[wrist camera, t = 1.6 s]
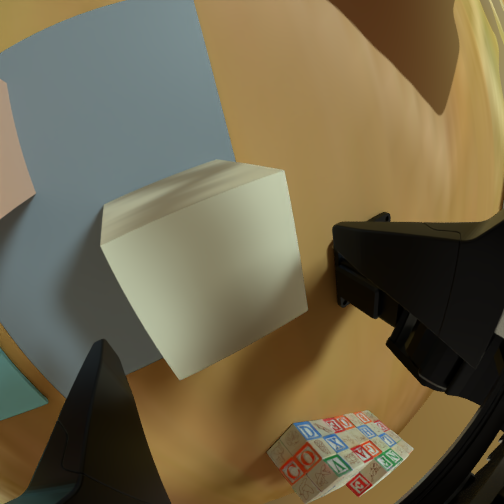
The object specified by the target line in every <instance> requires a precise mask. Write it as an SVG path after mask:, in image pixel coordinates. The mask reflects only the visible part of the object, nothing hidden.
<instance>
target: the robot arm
mask: <svg viewBox="0 0 504 504" xmlns="http://www.w3.org/2000/svg"><path fill="white" fill-rule="evenodd" d="M332 232H333V242H334V256H335V268H336V283H337V300H338V305H339V306H341V307H342V308H344V307H346V306H347V305H349V304H350V303H351V304H352V305H354V306H355V307H357V308H358V309H360V310H361V311H363V312H364V313H366V314H367V315H369V316H370V317H372V318H374V319H377V318H378V317H379V318H381V319H382V320H384V321H385V322H387V323H388V324H390V325H391V326H393V327H394V330H393V332H392V334H391V336H390V337H389V338H388V340H387V342H386V346H387V347H388V348H389V349H390V350H391V351H392V353H393V354H394V355H395V356H396V357H397V358H398V359H399V360H400V361H401V362H402V364H403V365H404V366H405V367H406V368H407V369H408V370H409V371H410V372H411V373H412V375H413V376H414V377H415V378H416V379H417V380H418V381H419V382H420V383H421V384H422V385H423V386H427V387H429V388H431V389H433V390H436V391H440V392H445V393H446V394H447V395H452V396H459V397H462V398H465V399H468V400H470V401H473V402H475V403H476V404H478V405H480V408H479V409H478V411H477V412H476V414H475V415H474V417H473V418H472V419H471V421H470V422H469V423H468V425H467V426H466V427H465V429H464V430H463V432H462V433H461V434H460V436H459V437H458V438H457V439H456V440H455V442H454V443H453V444H452V445H451V447H450V448H449V449H448V450H447V451H446V453H445V454H444V455H443V456H442V457H441V458H440V459H439V461H438V462H437V463H436V464H435V465H434V466H433V467H432V468H431V469H430V470H429V472H427V473H426V475H425V476H424V477H423V478H422V479H421V480H420V481H419V482H417V484H415V485H414V486H413V487H412V488H411V489H410V490H409V491H408V492H407V493H406V494H405V495H404V496H403V497H401V498H400V499H399V500H398V501H397V502H396V503H395V504H504V434H503V435H502V436H501V438H500V439H499V442H500V443H501V444H500V445H499V446H498V447H497V448H496V449H495V450H494V451H493V452H492V453H491V454H490V455H489V456H488V458H487V460H488V461H489V462H488V463H487V464H486V465H485V466H484V467H483V468H481V469H480V470H479V471H478V472H477V473H476V474H475V475H474V474H473V473H471V471H472V470H473V468H474V467H475V465H476V464H477V463H478V462H479V460H480V459H481V457H482V456H483V455H484V453H485V452H486V450H487V449H488V447H489V446H490V444H491V443H492V441H493V440H494V438H495V437H496V435H497V433H498V432H499V430H502V431H503V432H504V208H503V209H502V210H501V211H499V212H498V213H497V214H495V215H494V216H493V217H491V218H490V219H488V220H486V221H482V222H459V223H429V222H424V223H422V222H390V214H389V213H387V212H383V213H381V214H379V215H377V216H376V217H374V218H372V219H370V220H368V221H367V222H340V223H338V224H336V225H334V226H333V228H332ZM5 504H171V502H170V500H169V498H168V495H167V493H166V491H165V488H164V486H163V484H162V481H161V479H160V476H159V474H158V471H157V468H156V466H155V463H154V460H153V458H152V455H151V452H150V449H149V446H148V443H147V440H146V437H145V434H144V431H143V428H142V424H141V421H140V418H139V414H138V411H137V407H136V403H135V400H134V397H133V394H132V391H131V389H130V386H129V383H128V381H127V378H126V375H125V372H124V369H123V367H122V364H121V361H120V359H119V357H118V355H117V354H116V352H115V351H114V350H113V348H112V347H111V346H110V344H109V343H108V342H107V340H106V339H100V340H98V341H96V342H94V343H93V345H92V347H91V349H90V351H89V353H88V355H87V357H86V359H85V361H84V363H83V365H82V367H81V369H80V371H79V373H78V375H77V377H76V379H75V381H74V383H73V385H72V388H71V390H70V392H69V394H68V396H67V398H66V401H65V403H64V405H63V408H62V410H61V412H60V415H59V417H58V421H57V422H56V424H55V427H54V429H53V432H52V434H51V436H50V439H49V441H48V444H47V446H46V448H45V450H44V452H43V455H42V457H41V459H40V461H39V463H38V466H37V468H36V470H35V473H34V475H33V477H32V480H31V482H30V484H29V486H28V488H27V489H26V491H25V492H24V493H23V494H22V495H21V496H19V497H18V498H16V499H13V500H11V501H9V502H7V503H5Z"/></svg>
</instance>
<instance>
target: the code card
mask: <svg viewBox="0 0 504 504" xmlns="http://www.w3.org/2000/svg"><path fill="white" fill-rule="evenodd" d="M0 79H1V80H3V81H4V82H6V83H7V88H8V94H9V99H10V105H11V110H12V114H13V119H14V123H15V127H16V131H17V135H18V139H19V143H20V146H21V150H22V153H23V157H24V160H25V163H26V166H27V169H28V172H29V175H30V178H31V181H32V184H33V186H34V189H35V192H36V194H35V195H33V196H32V197H30V198H29V199H27V200H26V201H24V202H23V203H21V204H20V205H19V206H17V207H16V208H15V209H13V210H12V211H10V212H9V213H8V214H6V215H5V216H4V217H2V218H1V219H0V322H1V324H2V325H3V326H4V328H5V329H6V331H7V332H8V333H9V335H10V336H11V337H12V339H13V340H14V341H15V342H16V344H17V345H18V346H19V348H20V349H21V350H22V351H23V353H24V354H25V355H26V356H27V357H28V359H29V360H30V361H31V362H32V363H33V364H34V366H35V367H36V368H37V369H38V370H39V371H40V372H41V373H42V374H43V376H44V377H45V378H46V379H47V380H48V381H49V382H50V383H51V384H52V385H53V386H54V387H55V388H56V389H57V390H58V391H59V392H60V393H61V394H62V395H63V396H64V397H65V398H67V396H68V394H69V392H70V390H71V388H72V385H73V383H74V381H75V379H76V377H77V375H78V373H79V371H80V369H81V367H82V365H83V363H84V361H85V359H86V357H87V355H88V353H89V351H90V349H91V347H92V345H93V343H94V342H96V341H98V340H100V339H106V340H107V342H108V343H109V344H110V346H111V347H112V348H113V350H114V351H115V352H116V354H117V355H118V357H119V359H120V361H121V364H122V367H123V369H124V372H125V375H127V374H129V373H131V372H134V371H136V370H138V369H140V368H142V367H145V366H147V365H149V364H151V363H153V362H155V361H157V360H160V359H162V358H164V357H163V356H162V354H161V353H160V351H159V350H158V348H157V347H156V345H155V344H154V342H153V340H152V339H151V337H150V336H149V334H148V333H147V331H146V329H145V328H144V326H143V324H142V323H141V321H140V319H139V318H138V316H137V314H136V313H135V311H134V309H133V308H132V306H131V304H130V302H129V301H128V299H127V297H126V295H125V293H124V292H123V290H122V288H121V286H120V284H119V282H118V280H117V279H116V277H115V275H114V273H113V271H112V269H111V267H110V265H109V263H108V261H107V259H106V257H105V255H104V253H103V251H102V249H101V247H100V242H101V229H102V217H103V208H104V204H106V203H108V202H110V201H113V200H115V199H117V198H119V197H121V196H124V195H126V194H128V193H130V192H133V191H135V190H137V189H140V188H142V187H145V186H147V185H149V184H152V183H154V182H157V181H159V180H162V179H164V178H167V177H169V176H172V175H174V174H177V173H180V172H182V171H185V170H188V169H190V168H193V167H196V166H199V165H202V164H204V163H207V162H210V161H213V160H216V159H218V160H225V161H232V162H236V161H235V157H234V153H233V149H232V145H231V141H230V137H229V134H228V130H227V126H226V122H225V118H224V114H223V110H222V107H221V103H220V99H219V95H218V91H217V88H216V84H215V80H214V76H213V72H212V69H211V65H210V61H209V57H208V53H207V50H206V46H205V42H204V38H203V35H202V31H201V27H200V23H199V20H198V16H197V12H196V9H195V5H194V1H193V0H126V1H122V2H118V3H115V4H111V5H108V6H104V7H101V8H98V9H95V10H92V11H89V12H86V13H83V14H80V15H77V16H75V17H72V18H69V19H67V20H64V21H62V22H60V23H57V24H55V25H53V26H50V27H48V28H46V29H44V30H42V31H40V32H38V33H36V34H34V35H32V36H30V37H28V38H26V39H24V40H22V41H20V42H18V43H17V44H15V45H13V46H11V47H10V48H8V49H6V50H5V51H3V52H1V53H0Z"/></svg>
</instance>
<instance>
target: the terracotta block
mask: <svg viewBox="0 0 504 504" xmlns="http://www.w3.org/2000/svg"><path fill="white" fill-rule="evenodd" d="M35 194H36V192H35V189H34V186H33V184H32V181H31V178H30V175H29V172H28V169H27V166H26V163H25V160H24V157H23V153H22V150H21V146H20V143H19V139H18V135H17V131H16V127H15V123H14V119H13V114H12V110H11V105H10V99H9V94H8V88H7V83H6V82H4V81H3V80H1V79H0V219H1V218H2V217H4V216H5V215H6V214H8V213H9V212H10V211H12V210H13V209H15V208H16V207H17V206H19V205H20V204H21V203H23V202H24V201H26V200H27V199H29V198H30V197H32V196H33V195H35Z"/></svg>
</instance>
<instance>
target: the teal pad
mask: <svg viewBox="0 0 504 504" xmlns="http://www.w3.org/2000/svg"><path fill="white" fill-rule="evenodd" d="M45 404H48V399H47V398H46V397H44V396H43V395H42V394H41V393H40V392H39V391H38V390H37V389H36V388H35V387H34V386H33V385H32V384H31V383H30V381H29V380H28V379H27V378H26V377H25V376H24V375H23V374H22V373H21V372H20V371H19V370H18V368H17V367H16V366H15V365H14V364H13V363H12V362H11V360H10V359H9V358H8V357H7V356H6V354H5V353H4V352H3V351H2V349H1V348H0V421H1V420H4V419H7V418H9V417H12V416H15V415H18V414H21V413H24V412H26V411H29V410H32V409H35V408H37V407H40V406H43V405H45Z"/></svg>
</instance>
